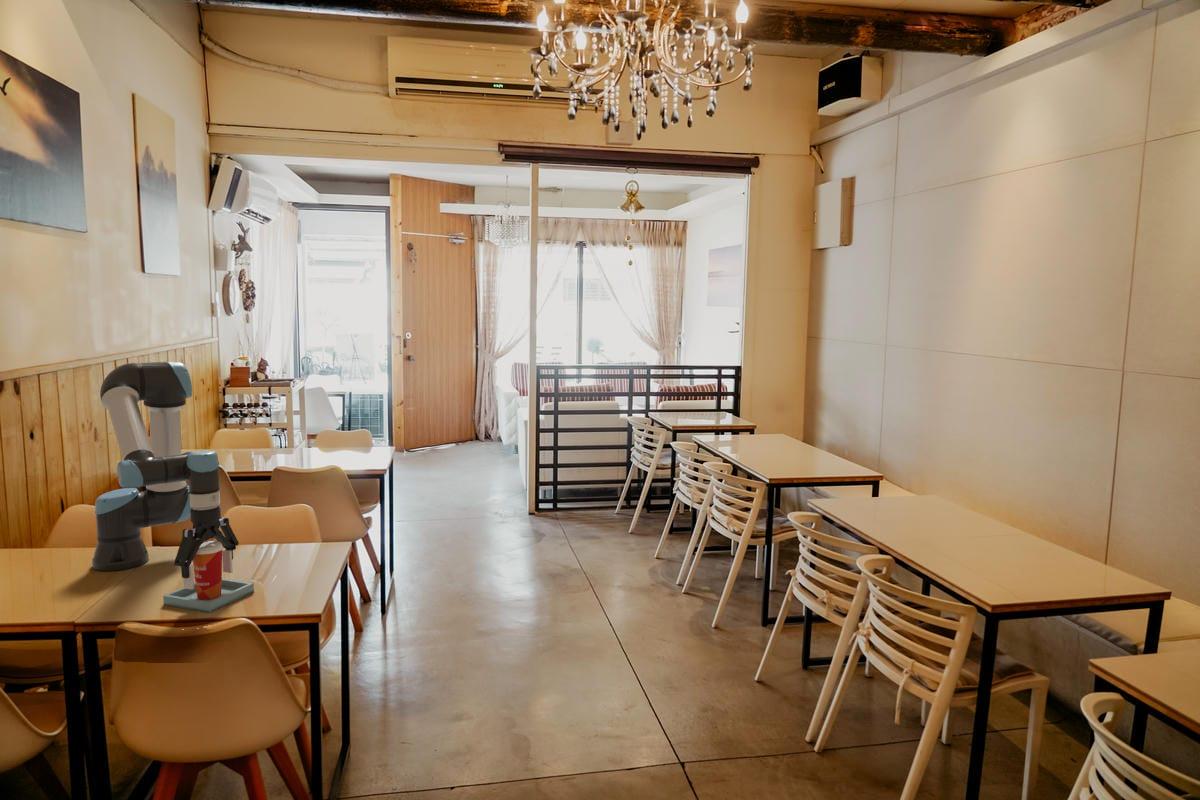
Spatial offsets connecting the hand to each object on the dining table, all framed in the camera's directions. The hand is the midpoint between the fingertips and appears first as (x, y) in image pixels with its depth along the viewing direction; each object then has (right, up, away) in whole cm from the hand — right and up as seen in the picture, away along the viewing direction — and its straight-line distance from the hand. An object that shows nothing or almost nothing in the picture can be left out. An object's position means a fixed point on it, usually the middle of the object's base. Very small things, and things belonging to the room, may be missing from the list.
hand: (209, 580), depth 210 cm
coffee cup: (0, -5, +1) cm, 5 cm away
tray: (0, -5, +1) cm, 5 cm away
